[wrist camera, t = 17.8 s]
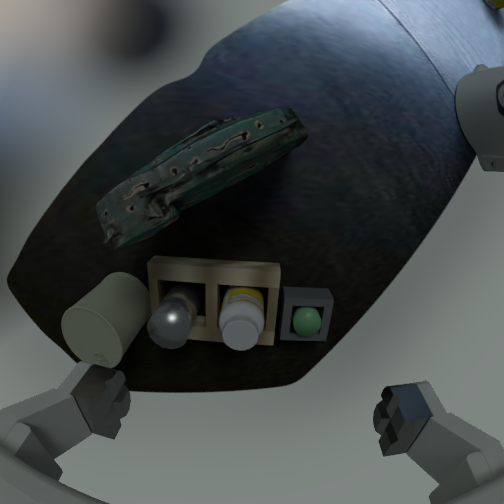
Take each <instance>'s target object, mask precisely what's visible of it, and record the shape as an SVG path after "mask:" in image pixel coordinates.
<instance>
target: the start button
mask: <svg viewBox="0 0 504 504" xmlns="http://www.w3.org/2000/svg"><path fill="white" fill-rule="evenodd" d="M292 320H293V325H294V329H295V331H296V332H297V333H298V334H300V335H303V336H309V335H312V334H314V333H316V332H317V331H318V330H319V329H320V327H321V318H320V316H319V313H318V310H317V308H316V307H313V306H295V307H294V308H293V310H292Z"/></svg>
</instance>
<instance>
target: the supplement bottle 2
mask: <svg viewBox="0 0 504 504" xmlns="http://www.w3.org/2000/svg"><path fill="white" fill-rule="evenodd" d="M484 1H485V2H486V3H487V4H488V5H489V6H490V7H491V8H493V9H495V10H499V9H501V8H503V7H504V0H484Z"/></svg>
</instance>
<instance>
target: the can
mask: <svg viewBox="0 0 504 504" xmlns="http://www.w3.org/2000/svg"><path fill="white" fill-rule="evenodd" d="M150 316H151V303H150V293H149V291H148V290H147V288H146V287H145V285H144V284H143V283H142V282H141V281H140V280H139V279H137V278H136V277H134V276H132V275H130V274H127V273H123V272H116V273H112V274H110V275H108V276H107V277H106V278H105V279H104V280H103V281H102V282H101V283H100V284H99V285H98V286H96V287H95V288H94V289H93V290H92V291H91V292H89V293H88V294H87V295H86V296H85V297H83V298H82V299H81V300H80V301H78V302H77V303H76V304H75V305H74V306H72V307H71V308H69V309H68V310H67V311H66V312H65V313H64V315H63V318H62V332H63V336H64V338H65V340H66V342H67V344H68V346H69V347H70V349H71V350H72V351H73V352H74V354H75V355H76V356H77V357H79V358H80V359H81V360H82V361H86V362H89V363H92V364H97V365H100V366H104V367H108V368H113V367H115V366H116V365H118V363H119V362H120V361H121V359H122V357H123V355H124V353H125V352H126V350H127V348H128V347H129V345H130V344H131V342H132V341H133V339H134V338H135V336H136V335H137V333H138V332H139V330H140V329H141V327H142V326H143V325H144V323H146V322H147V321H148V319H149V318H150Z"/></svg>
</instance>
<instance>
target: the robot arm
mask: <svg viewBox="0 0 504 504" xmlns="http://www.w3.org/2000/svg"><path fill="white" fill-rule="evenodd" d="M456 110H457V115H458V119H459V122H460V125H461V128H462V130H463V133H464V135H465V137H466V138H467V140H468V142H469V143H470V145H471V146H472V147H473V149H474V150H475V152H476V154H477V156H478V159H479V162H480V165H481V167H482V169H483V170H484V171H498V172H499V171H500V172H504V66H499V67H493V68H488V67H486V66H485V65H483V64H480V65H477V66H476V68H475V69H474V71H473V72H472V73H471V74H468V75H466V76H464V77H463V78H462V79H461V80H460V82H459V84H458V86H457V90H456ZM124 382H125V377H124V374H123V372H121V371H119V370H115V369H112V368H108V367H104V366H100V365H97V364H92V363H89V362H86V361H81V362H79V363H78V364H77V365H76V367H75V368H74V369H73V370H72V371H71V373H70V374H69V375H68V376H67V378H66V379H65V380H64V382H63V383H62V384H61V385H60V386H59V388H58V389H51V390H49V391H46V392H44V393H42V394H39V395H36V396H34V397H31V398H29V399H26V400H24V401H22V402H19V403H16V404H14V405H11V406H9V407H6V408H3V409H1V411H0V504H109V503H106V502H103V501H101V500H98V499H96V498H93V497H91V496H89V495H86V494H84V493H82V492H79V491H77V490H75V489H73V488H71V487H68V486H67V485H65V484H62V483H60V482H59V479H60V477H61V475H62V473H63V472H62V469H61V468H60V466H59V465H58V464H57V463H56V462H55V460H54V459H55V458H56V457H58V456H60V455H61V454H63V453H64V452H66V451H67V450H69V449H70V448H72V447H73V446H75V445H77V444H78V443H79V442H81V441H83V440H84V439H86V438H87V437H89V436H90V435H91V434H92V433H94V434H98V435H101V436H104V437H108V438H111V439H115V437H116V435H117V433H118V431H119V429H120V427H121V422H120V419H121V418H122V417H124V416H126V415H127V413H128V411H129V407H130V402H131V400H130V393H129V390H128V389H127V388H126V387H125V385H124ZM381 397H382V399H383V400H382V401H381V402H379V403H378V404H377V405H376V408H375V410H374V416H373V423H374V428H375V431H376V432H377V433H379V434H380V435H381V437H380V439H379V444H380V447H381V450H382V454H383V456H390V455H395V454H402V453H406V454H407V455H408V456H409V457H410V458H411V459H412V460H413V461H415V462H416V463H417V464H418V465H419V466H420V467H421V468H422V469H423V470H424V471H426V472H427V473H428V474H429V475H430V476H431V477H432V478H433V479H435V480H436V481H437V482H438V483H439V484H440V485H439V486H438V487H437V488H436V489H435V490H434V491H433V492H432V493H431V494H430V495H429V499H430V502H431V504H504V449H503V447H502V445H501V443H500V441H499V440H497V439H495V438H493V437H492V436H490V435H488V434H486V433H485V432H483V431H481V430H479V429H478V428H476V427H474V426H472V425H471V424H469V423H467V422H466V421H464V420H462V419H460V418H459V417H457V416H455V415H454V414H452V413H447V412H446V411H445V409H444V407H443V406H442V404H441V402H440V400H439V398H438V397H437V395H436V393H435V391H434V390H433V388H432V386H431V385H430V383H429V382H427V381H423V382H416V383H410V384H403V385H395V386H386V387H385V388H384V389H383V392H382V394H381Z"/></svg>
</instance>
